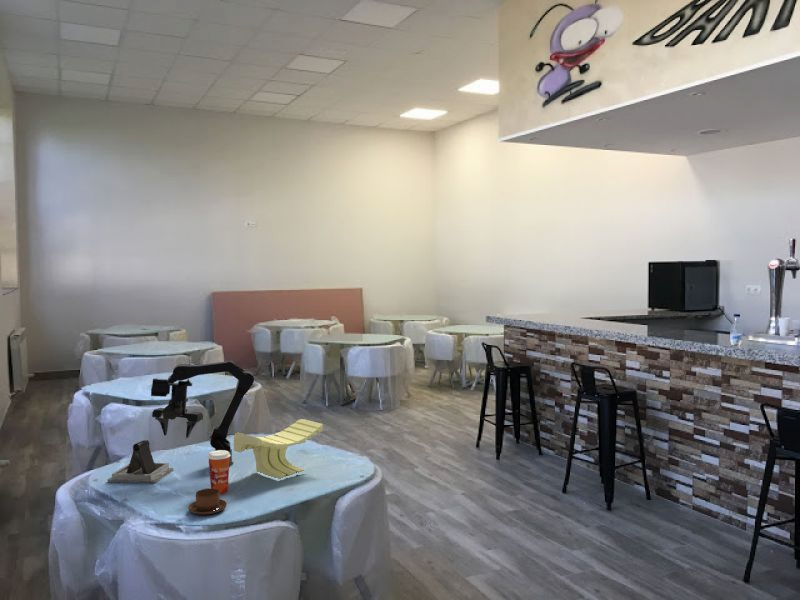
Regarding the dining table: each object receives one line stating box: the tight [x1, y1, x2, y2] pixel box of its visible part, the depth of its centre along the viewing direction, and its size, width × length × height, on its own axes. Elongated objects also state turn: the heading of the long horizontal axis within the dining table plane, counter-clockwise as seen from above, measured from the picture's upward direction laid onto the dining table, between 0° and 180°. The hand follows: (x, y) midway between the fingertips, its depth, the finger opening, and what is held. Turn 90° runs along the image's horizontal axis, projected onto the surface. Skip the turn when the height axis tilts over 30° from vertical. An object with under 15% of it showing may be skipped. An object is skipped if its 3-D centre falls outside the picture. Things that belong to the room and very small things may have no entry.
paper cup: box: [207, 450, 231, 495], centre depth 236 cm, size 8×8×14 cm
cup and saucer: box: [188, 488, 228, 516], centre depth 218 cm, size 12×12×6 cm
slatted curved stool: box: [233, 418, 324, 479], centre depth 257 cm, size 30×16×18 cm, turn 136°
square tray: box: [106, 462, 174, 485], centre depth 253 cm, size 18×16×3 cm
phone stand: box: [126, 439, 157, 474], centre depth 253 cm, size 9×6×12 cm, turn 76°
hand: (176, 436), depth 261 cm, fingers open, 9 cm apart
